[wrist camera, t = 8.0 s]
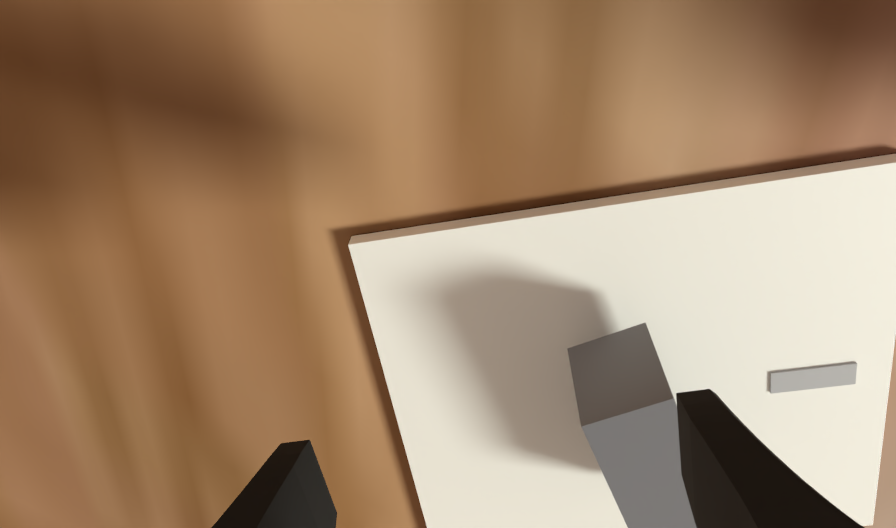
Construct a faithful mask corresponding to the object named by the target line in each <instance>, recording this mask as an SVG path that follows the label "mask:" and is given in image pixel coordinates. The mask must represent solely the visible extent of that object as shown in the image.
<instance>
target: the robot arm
mask: <svg viewBox="0 0 896 528" xmlns="http://www.w3.org/2000/svg"><path fill="white" fill-rule="evenodd" d="M676 399H677V414H678V429H679V445H680V460H681V474H682V478H683V482H684V485H685V489H686V493H687V496H688V500H689V503H690V507H691V510H692V514H693V517H694V521H695V524H696V527H697V528H864V527H863V526H861V525H860V524H858V523H857V522H856V521H854V520H853V519H851V518H850V517H849V516H847V515H846V514H845V513H844V512H842V511H841V510H840V509H838V508H837V507H836V506H834V505H833V504H832V503H831V502H829V501H828V500H827V499H826V498H824V497H823V496H822V495H821V494H820V493H818V492H817V491H816V490H815V489H814V488H812V487H811V486H810V485H809V484H808V483H806V482H805V481H804V480H803V479H802V478H801V477H799V476H798V475H797V474H796V473H795V472H794V471H793V470H791V469H790V468H789V467H788V466H787V465H786V464H785V463H784V462H783V461H782V460H781V459H779V458H778V457H777V456H776V455H775V454H774V453H773V452H772V451H771V450H770V449H769V448H768V447H766V446H765V445H764V444H763V443H762V442H761V441H760V440H759V439H758V438H757V437H756V436H755V435H754V434H753V433H752V432H751V431H750V430H749V429H748V428H747V427H746V426H745V425H744V424H743V423H742V422H741V420H740V419H739V418H738V417H737V416H736V415H735V414H734V413H733V412H732V411H731V410H730V409H729V408H728V407H727V405H726V404H725V403H724V402H723V401H722V400H721V399H720V398H719V396H718V395H717V394H716V393H715V392H713V391H712V390H710V389H704V390H696V391H689V392H681V393H676ZM336 518H337V512H336V509H335V507H334V504H333V501H332V499H331V496H330V493H329V490H328V488H327V485H326V482H325V480H324V477H323V474H322V472H321V469H320V466H319V464H318V461H317V458H316V456H315V453H314V450H313V447H312V445H311V442H310V440H305V441H297V442H289V443H281V444H280V445H279V446H278V448H277V449H276V450H275V451H274V452H273V454H272V455H271V456H270V457H269V458H268V460H267V461H266V462H265V463H264V465H263V466H262V467H261V468H260V470H259V471H258V472H257V473H256V475H255V476H254V477H253V478H252V480H251V481H250V482H249V483H248V485H247V486H246V487H245V488H244V490H243V491H242V492H241V493H240V494H239V496H238V497H237V498H236V499H235V500H234V502H233V503H232V504H231V505H230V506H229V508H228V509H227V510H226V511H225V512H224V514H223V515H222V516H221V517H220V518H219V520H218V521H217V522H216V523H215V524H214V525H213V527H212V528H335V527H336Z"/></svg>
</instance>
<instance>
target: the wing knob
mask: <svg viewBox="0 0 896 528" xmlns="http://www.w3.org/2000/svg"><path fill="white" fill-rule="evenodd" d="M567 350H568V356H569V361H570V367H571V373H572V378H573V384H574V389H575V395H576V401H577V406H578V412H579V418H580V423H581V427H582V430H583V432H584V434H585V436H586V438H587V440H588V443H589V445H590V447H591V449H592V451H593V453H594V456H595V458H596V460H597V462H598V464H599V466H600V469H601V471H602V473H603V475H604V477H605V479H606V482H607V484H608V486H609V488H610V490H611V492H612V495H613V497H614V499H615V501H616V503H617V505H618V508H619V510H620V512H621V514H622V516H623V518H624V520H625V523H626V525H627V527H628V528H697V527H696V524H695V521H694V517H693V514H692V510H691V507H690V503H689V500H688V496H687V493H686V489H685V485H684V482H683V478H682V474H681V460H680V445H679V429H678V414H677V404H676V401H675V399H674V396H673V393H672V391H671V388H670V386H669V383H668V380H667V378H666V375H665V372H664V370H663V367H662V365H661V362H660V359H659V357H658V354H657V351H656V349H655V346H654V343H653V341H652V338H651V336H650V333H649V330H648V328H647V325H646V322H645V323H642V324H639V325H636V326H633V327H630V328H627V329H624V330H621V331H618V332H615V333H612V334H609V335H606V336H603V337H600V338H597V339H594V340H591V341H588V342H585V343H582V344H579V345H576V346H573V347H570V348H567Z"/></svg>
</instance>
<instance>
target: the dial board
mask: <svg viewBox="0 0 896 528" xmlns="http://www.w3.org/2000/svg"><path fill="white" fill-rule="evenodd" d="M348 246H349V250H350V253H351V257H352V261H353V264H354V268H355V271H356V275H357V279H358V282H359V286H360V289H361V293H362V296H363V300H364V304H365V307H366V311H367V314H368V318H369V322H370V325H371V329H372V332H373V336H374V339H375V343H376V347H377V350H378V354H379V357H380V361H381V365H382V368H383V372H384V375H385V379H386V383H387V386H388V390H389V393H390V397H391V400H392V404H393V408H394V411H395V415H396V418H397V422H398V426H399V429H400V433H401V436H402V440H403V444H404V447H405V451H406V454H407V458H408V461H409V465H410V469H411V472H412V476H413V479H414V483H415V487H416V490H417V494H418V497H419V501H420V505H421V508H422V512H423V515H424V519H425V522H426V526H427V528H628V527H627V525H626V523H625V520H624V518H623V516H622V514H621V512H620V510H619V508H618V505H617V503H616V501H615V499H614V497H613V495H612V492H611V490H610V488H609V486H608V484H607V482H606V479H605V477H604V475H603V473H602V471H601V469H600V466H599V464H598V462H597V460H596V458H595V456H594V453H593V451H592V449H591V447H590V445H589V443H588V440H587V438H586V436H585V434H584V432H583V430H582V427H581V423H580V418H579V412H578V406H577V401H576V395H575V389H574V384H573V378H572V373H571V367H570V361H569V356H568V350H567V348H570V347H573V346H576V345H579V344H582V343H585V342H588V341H591V340H594V339H597V338H600V337H603V336H606V335H609V334H612V333H615V332H618V331H621V330H624V329H627V328H630V327H633V326H636V325H639V324H642V323H645V322H646V325H647V328H648V330H649V333H650V336H651V338H652V341H653V343H654V346H655V349H656V351H657V354H658V357H659V359H660V362H661V365H662V367H663V370H664V372H665V375H666V378H667V380H668V383H669V386H670V388H671V391H672V393H673V396H674V399H675V401H676V404H677V399H676V393H681V392H689V391H696V390H704V389H710V390H712V391H713V392H715V393H716V394H717V395H718V396H719V398H720V399H721V400H722V401H723V402H724V403H725V404H726V405H727V407H728V408H729V409H730V410H731V411H732V412H733V413H734V414H735V415H736V416H737V417H738V418H739V419H740V420H741V422H742V423H743V424H744V425H745V426H746V427H747V428H748V429H749V430H750V431H751V432H752V433H753V434H754V435H755V436H756V437H757V438H758V439H759V440H760V441H761V442H762V443H763V444H764V445H765V446H766V447H768V448H769V449H770V450H771V451H772V452H773V453H774V454H775V455H776V456H777V457H778V458H779V459H781V460H782V461H783V462H784V463H785V464H786V465H787V466H788V467H789V468H790V469H791V470H793V471H794V472H795V473H796V474H797V475H798V476H799V477H801V478H802V479H803V480H804V481H805V482H806V483H808V484H809V485H810V486H811V487H812V488H814V489H815V490H816V491H817V492H818V493H820V494H821V495H822V496H823V497H824V498H826V499H827V500H828V501H829V502H831V503H832V504H833V505H834V506H836V507H837V508H838V509H840V510H841V511H842V512H844V513H845V514H846V515H847V516H849V517H850V518H851V519H853V520H854V521H856V522H857V523H858V524H860V525H861V526H867V525H873V519H874V510H875V502H876V494H877V485H878V477H879V469H880V460H881V452H882V444H883V435H884V427H885V419H886V410H887V402H888V394H889V385H890V377H891V369H892V360H893V352H894V344H895V335H896V154H889V155H883V156H876V157H870V158H863V159H857V160H850V161H843V162H837V163H830V164H824V165H817V166H810V167H804V168H797V169H791V170H784V171H777V172H771V173H764V174H758V175H751V176H744V177H738V178H731V179H725V180H718V181H712V182H705V183H698V184H692V185H685V186H679V187H672V188H665V189H659V190H652V191H646V192H639V193H632V194H626V195H619V196H613V197H606V198H599V199H593V200H586V201H580V202H573V203H567V204H560V205H553V206H547V207H540V208H534V209H527V210H520V211H514V212H507V213H501V214H494V215H487V216H481V217H474V218H468V219H461V220H455V221H448V222H441V223H435V224H428V225H422V226H415V227H408V228H402V229H395V230H389V231H382V232H375V233H369V234H362V235H356V236H351V239H350V241H349V244H348Z"/></svg>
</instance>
